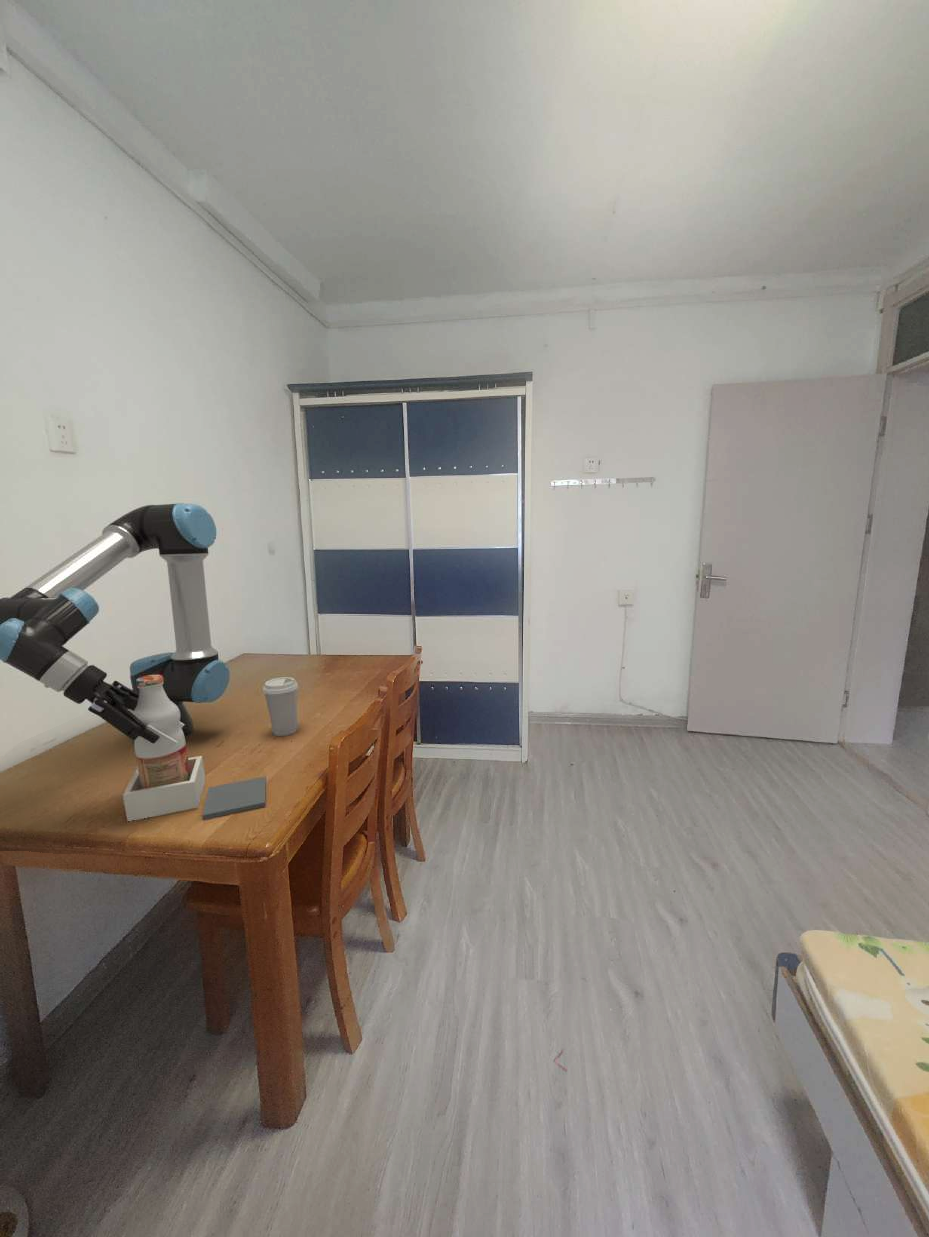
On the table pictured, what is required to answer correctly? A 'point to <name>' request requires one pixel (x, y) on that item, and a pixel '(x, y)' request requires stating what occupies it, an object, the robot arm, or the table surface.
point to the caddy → (165, 794)
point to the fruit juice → (165, 718)
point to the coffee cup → (282, 705)
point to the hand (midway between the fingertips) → (176, 738)
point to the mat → (235, 797)
